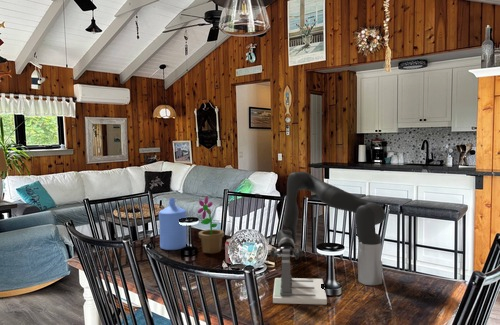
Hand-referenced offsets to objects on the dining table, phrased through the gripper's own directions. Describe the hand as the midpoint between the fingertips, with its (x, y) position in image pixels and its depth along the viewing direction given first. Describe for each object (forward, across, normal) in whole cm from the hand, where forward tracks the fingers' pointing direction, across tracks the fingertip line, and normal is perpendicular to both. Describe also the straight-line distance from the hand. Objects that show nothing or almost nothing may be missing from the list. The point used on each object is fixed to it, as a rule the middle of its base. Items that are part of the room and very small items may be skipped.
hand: (286, 257), depth 165 cm
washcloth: (-40, -15, +10) cm, 44 cm away
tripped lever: (+8, 0, +7) cm, 10 cm away
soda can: (-18, -27, +10) cm, 34 cm away
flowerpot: (-40, -42, +10) cm, 58 cm away
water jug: (-47, -66, +10) cm, 81 cm away
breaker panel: (+15, +5, +10) cm, 18 cm away
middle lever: (+15, 0, +7) cm, 16 cm away
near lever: (+22, 0, +7) cm, 23 cm away
